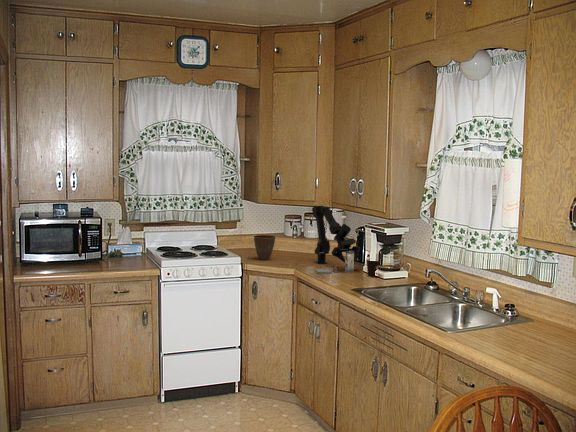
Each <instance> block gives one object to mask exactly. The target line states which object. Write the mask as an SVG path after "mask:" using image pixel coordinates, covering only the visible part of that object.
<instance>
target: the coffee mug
mask: <svg viewBox="0 0 576 432" xmlns="http://www.w3.org/2000/svg"><path fill="white" fill-rule="evenodd" d="M370 259H371V258H367V259H366V268H367V277H369V276H371V277H372V278H375V277H374V276H375V271H376V270H377V269H378V267H379V263H380V264H381V262H380V261H370ZM371 277H370V278H371Z"/></svg>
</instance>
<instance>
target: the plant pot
mask: <svg viewBox="0 0 576 432" xmlns="http://www.w3.org/2000/svg"><path fill="white" fill-rule="evenodd" d="M253 242H254V247H255V251H256V255H257V258H258V260H260V261H269V260H270V258H271V256H272V254H273V251H274V246H275V242H276V236H275V235H271V234H258V235H257V234H256V235H254V236H253Z"/></svg>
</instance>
